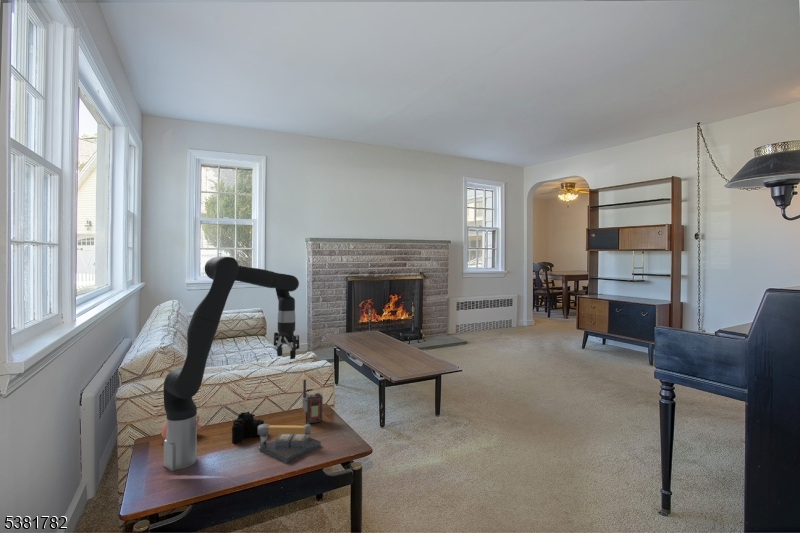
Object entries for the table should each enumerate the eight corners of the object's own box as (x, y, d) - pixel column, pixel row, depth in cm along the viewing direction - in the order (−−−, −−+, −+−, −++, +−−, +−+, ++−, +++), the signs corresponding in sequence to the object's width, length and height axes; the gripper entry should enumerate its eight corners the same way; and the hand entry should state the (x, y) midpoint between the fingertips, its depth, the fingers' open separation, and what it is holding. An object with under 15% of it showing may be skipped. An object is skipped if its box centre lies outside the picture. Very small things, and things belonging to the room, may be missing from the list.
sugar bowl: (165, 432, 163) (165, 407, 163) (203, 428, 168) (203, 404, 168) (157, 445, 152) (157, 418, 152) (198, 440, 156) (198, 414, 156)
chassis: (286, 463, 139) (287, 451, 139) (260, 451, 147) (260, 440, 147) (320, 446, 152) (320, 435, 152) (294, 436, 160) (294, 426, 160)
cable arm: (255, 435, 149) (256, 427, 149) (260, 430, 153) (260, 422, 153) (309, 435, 149) (309, 427, 149) (311, 430, 153) (311, 423, 153)
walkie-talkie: (302, 427, 170) (302, 380, 170) (300, 423, 174) (301, 377, 174) (322, 424, 173) (323, 378, 173) (320, 420, 177) (321, 375, 177)
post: (262, 450, 148) (262, 437, 148) (255, 447, 150) (255, 434, 150) (271, 446, 151) (271, 433, 151) (264, 444, 154) (264, 431, 154)
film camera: (253, 445, 153) (253, 421, 153) (228, 444, 153) (228, 421, 153) (267, 428, 168) (267, 407, 168) (244, 428, 168) (245, 407, 168)
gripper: (269, 320, 176) (268, 356, 176) (290, 323, 168) (290, 361, 168) (282, 318, 182) (282, 353, 183) (304, 321, 174) (303, 358, 174)
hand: (286, 357), depth 175 cm, fingers open, 8 cm apart
